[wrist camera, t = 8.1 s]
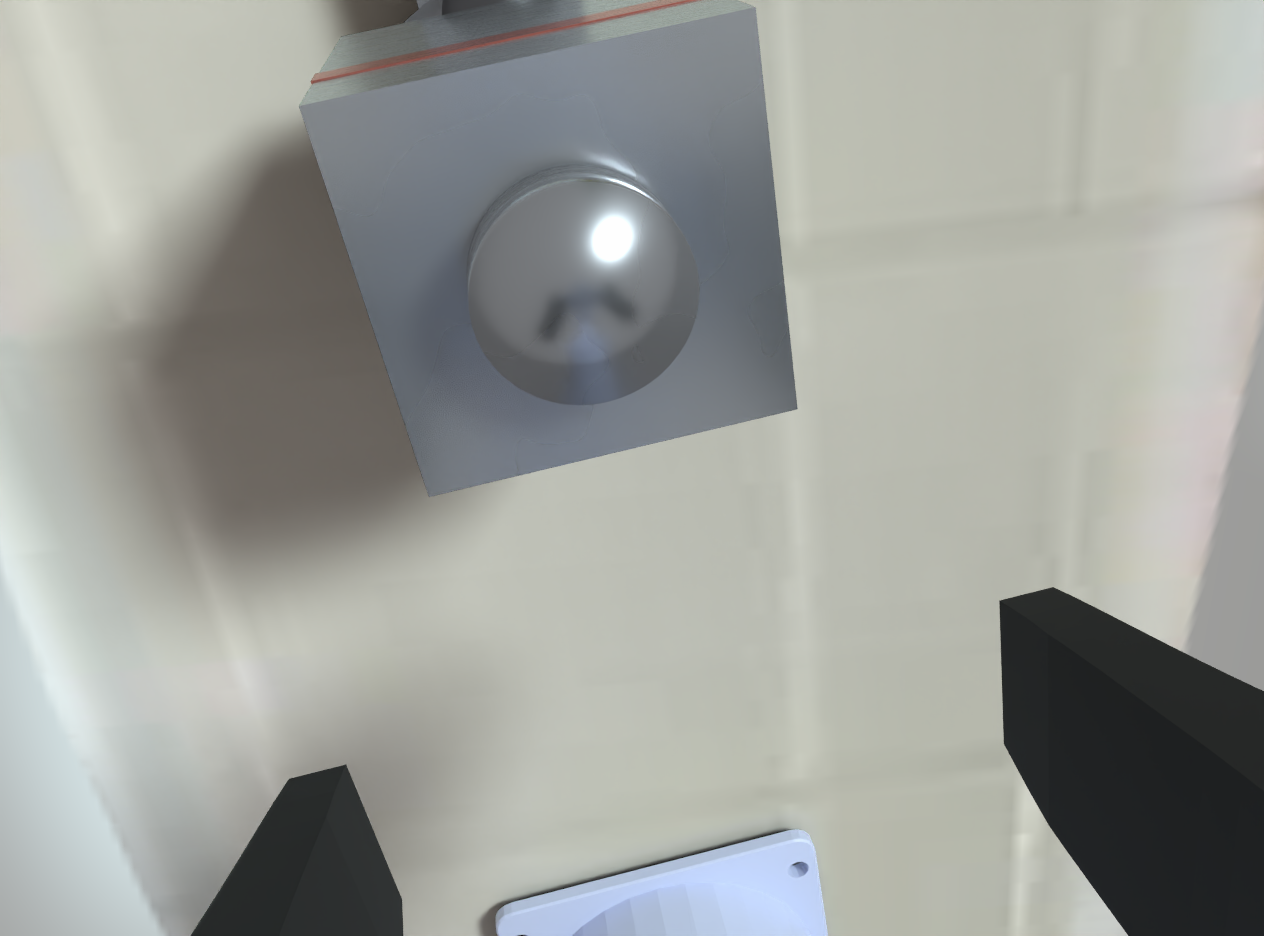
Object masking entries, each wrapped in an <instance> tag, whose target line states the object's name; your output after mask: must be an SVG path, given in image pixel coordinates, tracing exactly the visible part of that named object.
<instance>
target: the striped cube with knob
mask: <svg viewBox="0 0 1264 936" xmlns="http://www.w3.org/2000/svg"><path fill="white" fill-rule="evenodd" d="M311 84H312V85H311V87H310V89H309V90H308V92H307V94H306V95H305V97H304V98H303V100H302V102H301V103H300V105H299V108H300V111H301V114H302V117H303V120H304V123H305V126H306V129H307V132H308V135H309V138H310V141H311V144H312V147H313V150H314V153H315V156H316V159H317V162H318V165H319V168H320V171H321V174H322V177H323V180H324V183H325V186H326V189H327V192H328V195H329V198H330V201H331V204H332V207H333V210H334V213H335V216H336V219H337V222H338V225H339V228H340V231H341V234H342V237H343V240H344V243H345V246H346V249H347V252H348V255H349V258H350V261H351V264H352V267H353V270H354V273H355V276H356V279H357V282H358V285H359V288H360V291H361V294H362V297H363V300H364V303H365V306H366V309H367V312H368V315H369V318H370V321H371V324H372V327H373V330H374V333H375V336H376V339H377V342H378V345H379V348H380V351H381V354H382V357H383V360H384V363H385V366H386V369H387V372H388V375H389V378H390V381H391V384H392V387H393V390H394V393H395V396H396V399H397V402H398V405H399V408H400V411H401V414H402V417H403V420H404V423H405V426H406V429H407V433H408V436H409V439H410V442H411V445H412V448H413V451H414V454H415V457H416V460H417V463H418V466H419V469H420V472H421V475H422V478H423V481H424V484H425V487H426V490H427V493H428V496H429V497H431V496H435V495H439V494H443V493H447V492H452V491H456V490H460V489H464V488H468V487H473V486H477V485H481V484H485V483H489V482H494V481H498V480H502V479H506V478H510V477H515V476H519V475H523V474H527V473H531V472H536V471H540V470H544V469H548V468H552V467H557V466H561V465H565V464H569V463H573V462H578V461H582V460H586V459H590V458H594V457H599V456H603V455H607V454H611V453H615V452H620V451H624V450H628V449H632V448H636V447H641V446H645V445H649V444H653V443H657V442H662V441H666V440H670V439H674V438H678V437H682V436H687V435H691V434H695V433H699V432H703V431H708V430H712V429H716V428H720V427H724V426H729V425H733V424H737V423H741V422H745V421H750V420H754V419H758V418H762V417H766V416H771V415H775V414H779V413H783V412H787V411H792V410H796V409H797V400H796V391H795V381H794V372H793V362H792V352H791V343H790V333H789V324H788V314H787V305H786V295H785V285H784V276H783V266H782V257H781V247H780V237H779V228H778V218H777V209H776V199H775V190H774V180H773V170H772V161H771V151H770V142H769V132H768V123H767V113H766V103H765V94H764V84H763V75H762V65H761V55H760V46H759V36H758V27H757V17H756V8H755V7H754V6H751V5H749V4H746V3H744V2H741V1H739V0H510V1H506V2H501V3H496V4H492V5H487V6H482V7H478V8H473V9H468V10H463V11H459V12H454V13H449V14H445V15H440V16H435V17H431V18H426V19H421V20H417V21H412V22H407V23H403V24H398V25H393V26H388V27H384V28H379V29H374V30H370V31H365V32H360V33H356V34H351V35H346V36H342V37H341V38H340V39H339V41H338V43H337V44H336V46H335V48H334V49H333V51H332V53H331V54H330V56H329V57H328V59H327V61H326V62H325V64H324V66H323V67H322V69H321V71H320V72H319V73H316V74H315V75H314V77H313V78H312V80H311Z"/></svg>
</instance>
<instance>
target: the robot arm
mask: <svg viewBox="0 0 1264 936" xmlns="http://www.w3.org/2000/svg"><path fill="white" fill-rule="evenodd" d="M1000 631H1001V664H1002V696H1003V729H1004V745H1005V747H1006V748H1007V750H1008V752H1009V754H1010V756H1011V758H1012V760H1013V762H1014V763H1015V765H1016V767H1017V769H1018V771H1019V773H1020V775H1021V776H1022V778H1023V780H1024V782H1025V784H1026V786H1027V788H1028V789H1029V791H1030V793H1031V795H1032V796H1033V798H1034V800H1035V802H1036V803H1037V805H1038V807H1039V809H1040V811H1041V812H1042V814H1043V816H1044V818H1045V819H1046V821H1047V823H1048V825H1049V826H1050V828H1051V829H1052V830H1053V832H1054V833H1055V835H1056V836H1057V837H1058V839H1059V840H1060V842H1061V843H1062V845H1063V846H1064V847H1065V849H1066V850H1067V852H1068V853H1069V854H1070V856H1071V857H1072V859H1073V860H1074V861H1075V863H1076V864H1077V865H1078V867H1079V868H1080V870H1081V871H1082V872H1083V874H1084V875H1085V877H1086V878H1087V879H1088V881H1089V882H1090V884H1091V885H1092V886H1093V888H1094V889H1095V890H1096V892H1097V893H1098V895H1099V896H1100V897H1101V899H1102V900H1103V901H1104V903H1105V904H1106V906H1107V907H1108V908H1109V910H1110V911H1111V912H1112V914H1113V915H1114V916H1115V918H1116V919H1117V921H1118V922H1119V923H1120V925H1121V926H1122V927H1123V929H1124V930H1125V932H1126V933H1127V934H1128V936H1264V691H1262V690H1260V689H1258V688H1255V687H1253V686H1251V685H1249V684H1247V683H1245V682H1243V681H1241V680H1239V679H1236V678H1234V677H1232V676H1230V675H1228V674H1226V673H1224V672H1222V671H1220V670H1218V669H1216V668H1214V667H1212V666H1210V665H1208V664H1205V663H1203V662H1201V661H1199V660H1197V659H1195V658H1193V657H1191V656H1189V655H1187V654H1185V653H1183V652H1181V651H1179V650H1177V649H1175V648H1173V647H1171V646H1169V645H1167V644H1165V643H1163V642H1162V641H1160V640H1158V639H1156V638H1154V637H1152V636H1150V635H1148V634H1146V633H1144V632H1142V631H1140V630H1138V629H1136V628H1134V627H1132V626H1130V625H1128V624H1126V623H1124V622H1122V621H1120V620H1118V619H1116V618H1115V617H1113V616H1111V615H1109V614H1107V613H1105V612H1103V611H1101V610H1099V609H1097V608H1095V607H1093V606H1091V605H1089V604H1087V603H1085V602H1083V601H1081V600H1079V599H1077V598H1075V597H1073V596H1071V595H1069V594H1066V593H1064V592H1062V591H1060V590H1058V589H1056V588H1053V587H1052V588H1048V589H1044V590H1040V591H1036V592H1032V593H1028V594H1024V595H1020V596H1016V597H1012V598H1008V599H1004V600H1000ZM796 862H800V863H798V864H796V865H792V864H794V863H796ZM496 933H497V935H498V936H518V935H525V936H828V933H827V926H826V919H825V912H824V906H823V899H822V892H821V886H820V879H819V872H818V865H817V859H816V852H815V847H814V845H813V843H812V840H811V838H810V836H809V834H808V833H806V832H805V831H802V830H798V829H796V830H788V831H784V832H780V833H776V834H773V835H769V836H765V837H761V838H757V839H753V840H750V841H746V842H742V843H738V844H734V845H730V846H727V847H723V848H719V849H715V850H711V851H707V852H703V853H700V854H696V855H692V856H688V857H684V858H680V859H677V860H673V861H669V862H665V863H661V864H657V865H654V866H650V867H646V868H642V869H638V870H634V871H630V872H627V873H623V874H619V875H615V876H611V877H607V878H604V879H600V880H596V881H592V882H588V883H584V884H580V885H577V886H573V887H569V888H565V889H561V890H557V891H554V892H550V893H546V894H542V895H538V896H534V897H531V898H527V899H523V900H519V901H515V902H511V903H509V904H507V905H504V906H503V907H502V908H501V909H499V910H498V912H497V914H496ZM191 936H403V916H402V898H401V896H400V894H399V891H398V889H397V886H396V884H395V882H394V879H393V877H392V874H391V872H390V870H389V867H388V865H387V862H386V860H385V858H384V855H383V853H382V850H381V848H380V846H379V843H378V841H377V838H376V836H375V833H374V831H373V829H372V826H371V824H370V821H369V819H368V817H367V814H366V812H365V809H364V807H363V805H362V802H361V800H360V797H359V795H358V793H357V790H356V788H355V785H354V783H353V780H352V778H351V776H350V773H349V771H348V768H347V766H346V765H343V766H339V767H335V768H331V769H327V770H323V771H319V772H315V773H311V774H307V775H303V776H299V777H295V778H291V779H289V780H288V781H287V783H286V784H285V786H284V787H283V789H282V790H281V792H280V794H279V795H278V797H277V798H276V800H275V801H274V803H273V804H272V806H271V808H270V809H269V811H268V812H267V814H266V816H265V817H264V819H263V821H262V822H261V824H260V826H259V827H258V829H257V830H256V832H255V834H254V835H253V837H252V839H251V840H250V842H249V844H248V845H247V847H246V848H245V850H244V852H243V853H242V855H241V857H240V858H239V860H238V862H237V863H236V865H235V866H234V868H233V870H232V871H231V873H230V875H229V876H228V878H227V879H226V881H225V883H224V884H223V886H222V888H221V889H220V891H219V892H218V894H217V896H216V897H215V899H214V900H213V902H212V903H211V905H210V906H209V908H208V910H207V911H206V913H205V914H204V916H203V917H202V919H201V920H200V922H199V924H198V925H197V927H196V928H195V930H194V931H193V933H192V934H191Z"/></svg>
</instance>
